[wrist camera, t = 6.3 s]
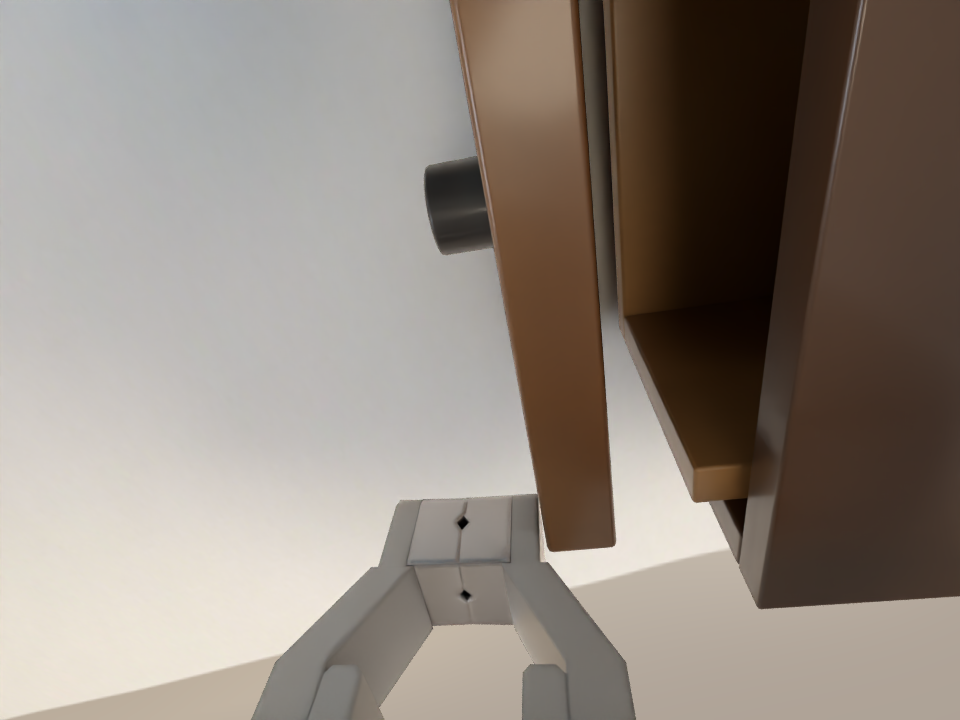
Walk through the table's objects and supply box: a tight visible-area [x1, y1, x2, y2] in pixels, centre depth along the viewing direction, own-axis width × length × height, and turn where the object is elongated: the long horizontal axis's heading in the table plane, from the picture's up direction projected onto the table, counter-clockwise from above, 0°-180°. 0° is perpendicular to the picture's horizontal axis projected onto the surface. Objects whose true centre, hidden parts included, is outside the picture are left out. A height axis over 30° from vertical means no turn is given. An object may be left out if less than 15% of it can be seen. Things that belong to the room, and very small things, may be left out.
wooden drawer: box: [424, 0, 811, 552], centre depth 8 cm, size 14×11×7 cm
